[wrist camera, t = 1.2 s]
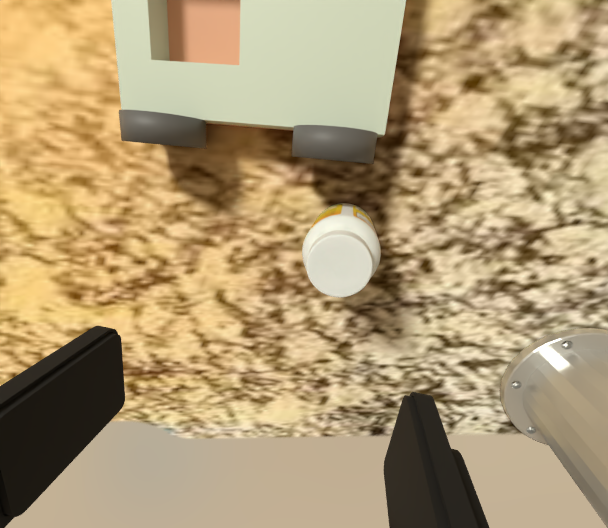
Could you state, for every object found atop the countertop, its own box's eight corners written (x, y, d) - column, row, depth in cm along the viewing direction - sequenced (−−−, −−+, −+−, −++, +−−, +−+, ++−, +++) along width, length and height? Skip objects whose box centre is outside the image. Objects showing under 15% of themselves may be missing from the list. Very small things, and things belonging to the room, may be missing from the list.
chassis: (423, -135, 19) (453, -256, 14) (376, 164, 25) (384, 164, 20) (128, -134, 21) (49, -239, 16) (147, 143, 27) (95, 138, 22)
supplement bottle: (379, 207, 26) (395, 230, 17) (367, 266, 28) (376, 315, 19) (317, 198, 27) (301, 216, 18) (308, 256, 29) (290, 299, 20)
